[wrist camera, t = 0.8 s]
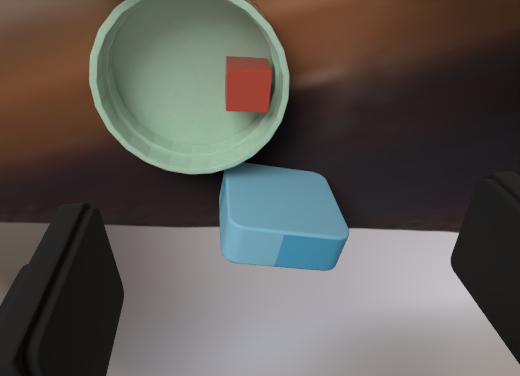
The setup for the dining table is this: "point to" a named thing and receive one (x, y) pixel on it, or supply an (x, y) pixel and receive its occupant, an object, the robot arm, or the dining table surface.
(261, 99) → the block
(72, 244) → the robot arm
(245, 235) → the data package
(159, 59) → the bowl
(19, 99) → the dining table surface
